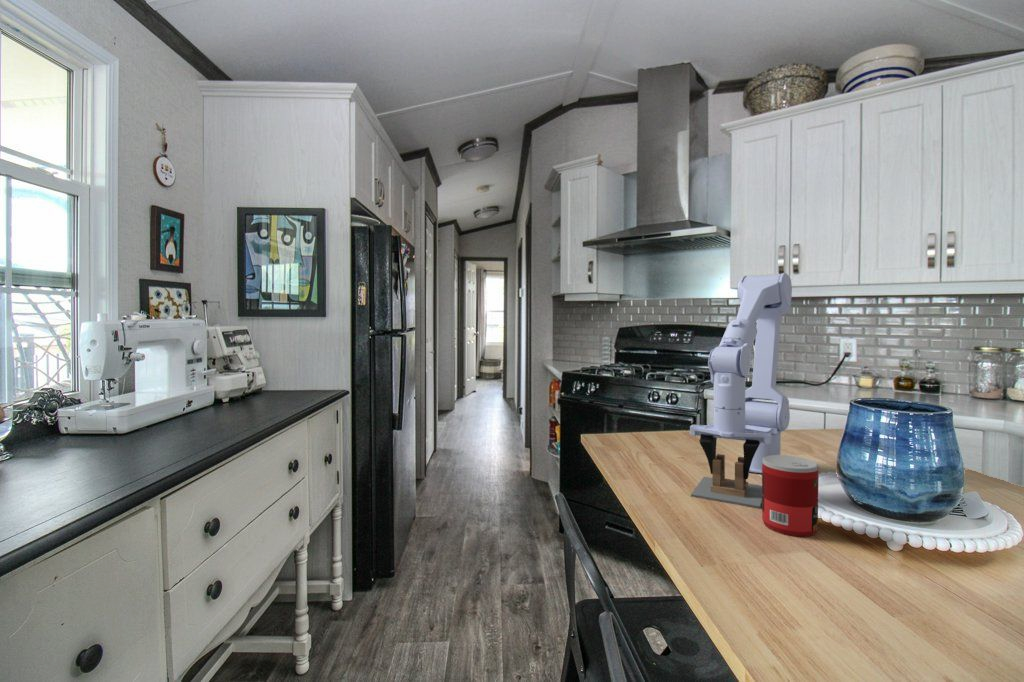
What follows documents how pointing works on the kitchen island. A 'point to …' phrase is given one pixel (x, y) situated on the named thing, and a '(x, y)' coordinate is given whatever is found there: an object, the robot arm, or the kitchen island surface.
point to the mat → (750, 499)
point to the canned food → (790, 495)
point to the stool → (728, 485)
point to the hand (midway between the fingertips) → (729, 475)
